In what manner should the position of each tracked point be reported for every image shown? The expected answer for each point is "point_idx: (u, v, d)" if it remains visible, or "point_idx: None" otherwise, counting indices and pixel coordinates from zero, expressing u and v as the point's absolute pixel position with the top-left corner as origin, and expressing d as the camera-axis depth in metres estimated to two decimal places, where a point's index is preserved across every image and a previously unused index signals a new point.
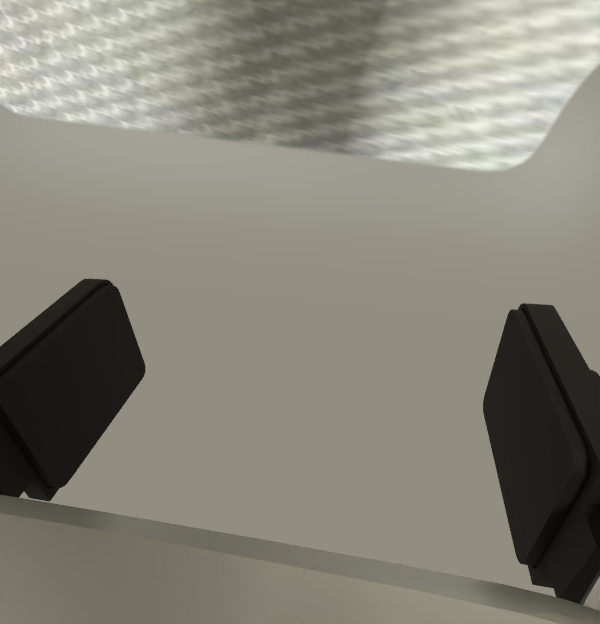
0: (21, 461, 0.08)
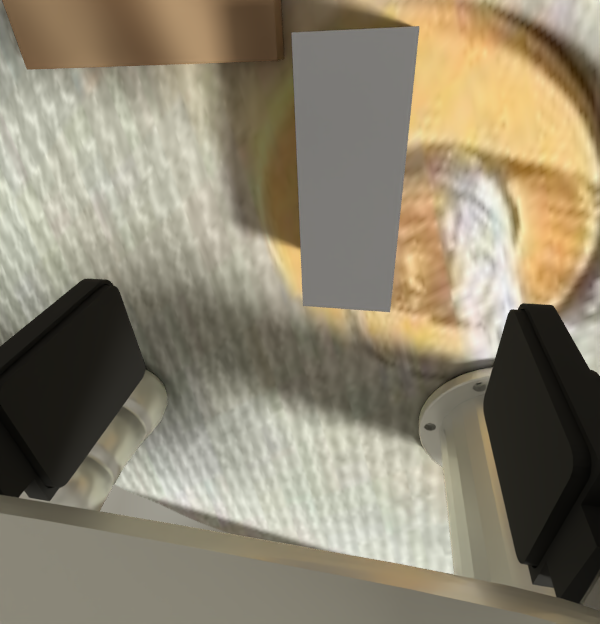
0: (22, 461, 0.08)
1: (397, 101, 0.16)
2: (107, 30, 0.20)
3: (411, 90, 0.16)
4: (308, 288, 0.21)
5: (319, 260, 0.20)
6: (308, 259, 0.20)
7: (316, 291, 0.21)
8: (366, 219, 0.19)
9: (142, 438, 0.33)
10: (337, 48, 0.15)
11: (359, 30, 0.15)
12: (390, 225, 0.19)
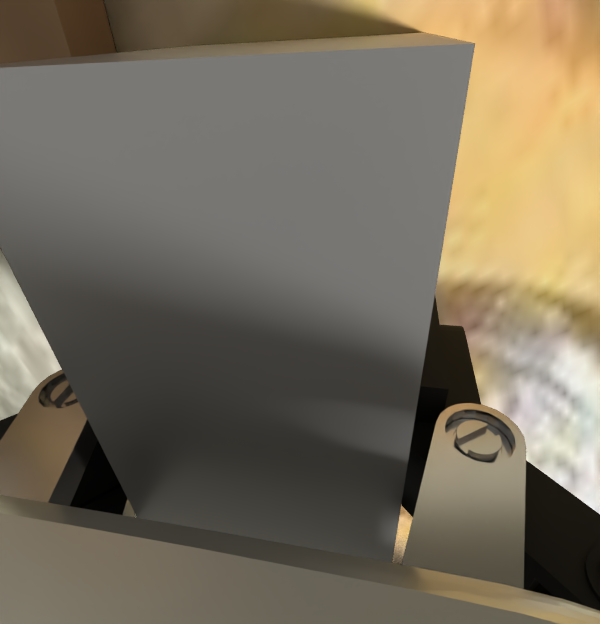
0: None
1: (373, 325, 0.04)
2: None
3: (430, 298, 0.04)
4: None
5: None
6: None
7: None
8: None
9: None
10: (110, 141, 0.04)
11: (183, 64, 0.03)
12: None
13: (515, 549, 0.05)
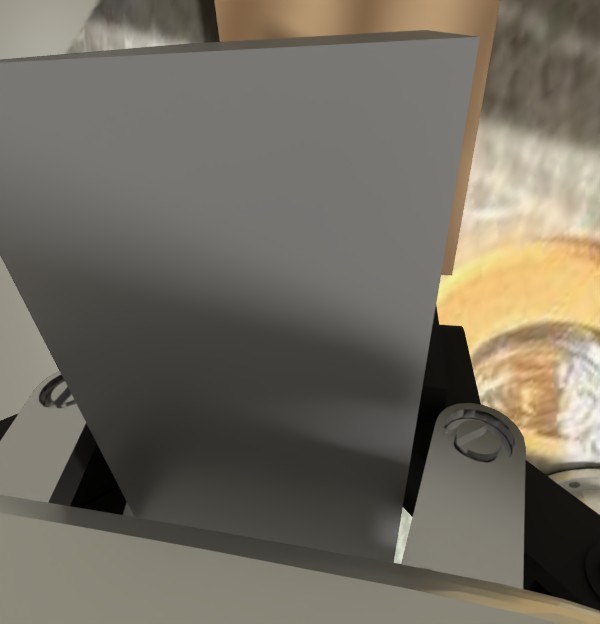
0: None
1: (374, 326, 0.04)
2: None
3: (432, 297, 0.04)
4: None
5: None
6: None
7: None
8: None
9: None
10: (107, 137, 0.03)
11: (180, 58, 0.03)
12: None
13: (514, 549, 0.05)
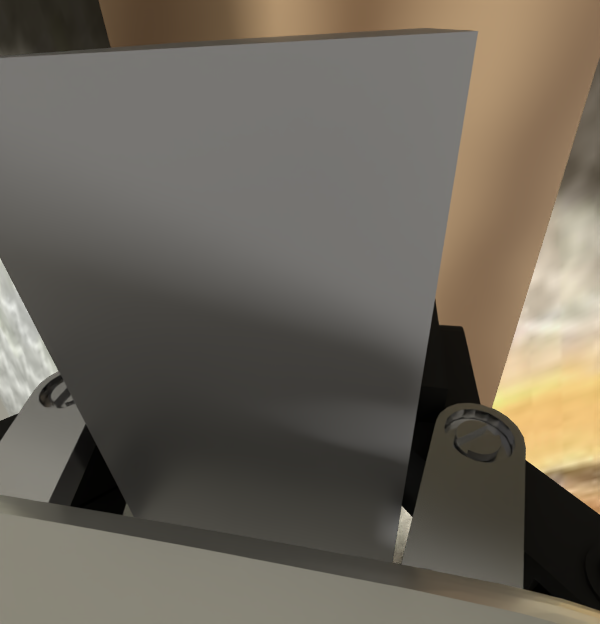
0: None
1: (371, 324, 0.04)
2: None
3: (431, 294, 0.04)
4: None
5: None
6: None
7: None
8: None
9: None
10: (104, 133, 0.03)
11: (177, 53, 0.03)
12: None
13: (514, 549, 0.05)
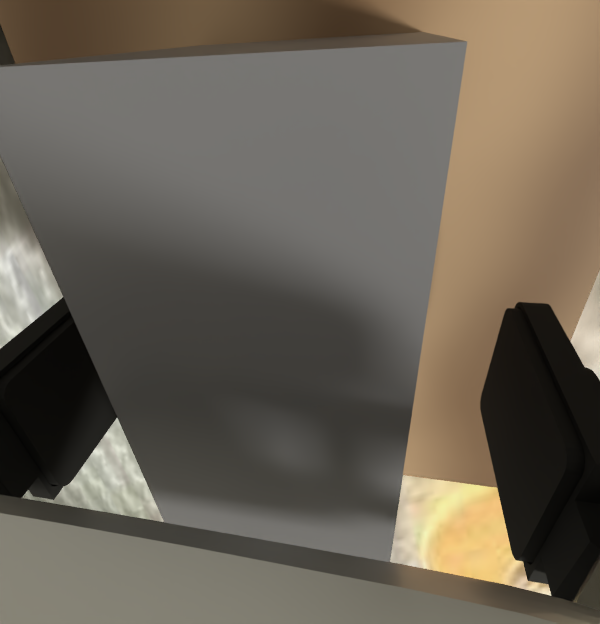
0: (26, 459, 0.08)
1: (376, 300, 0.05)
2: None
3: (429, 272, 0.04)
4: None
5: None
6: None
7: None
8: (311, 520, 0.07)
9: None
10: (141, 130, 0.04)
11: (208, 60, 0.04)
12: (371, 538, 0.07)
13: None
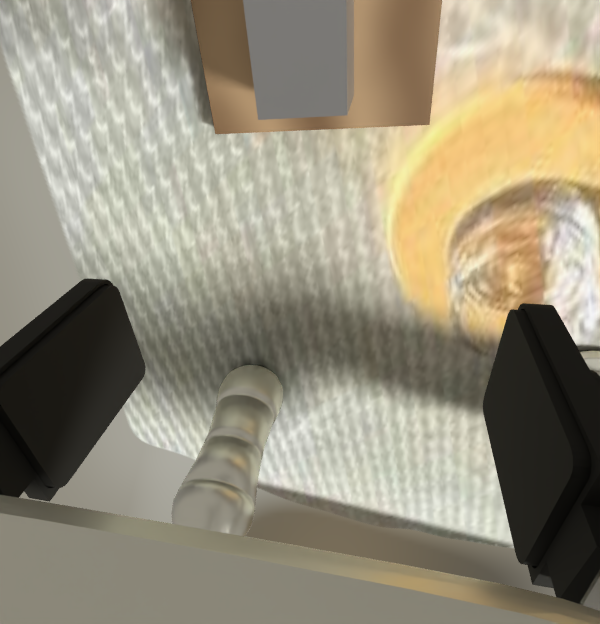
0: (22, 461, 0.08)
1: None
2: None
3: None
4: (261, 95, 0.20)
5: (269, 55, 0.19)
6: (257, 55, 0.19)
7: (269, 98, 0.20)
8: None
9: None
10: None
11: None
12: None
13: None
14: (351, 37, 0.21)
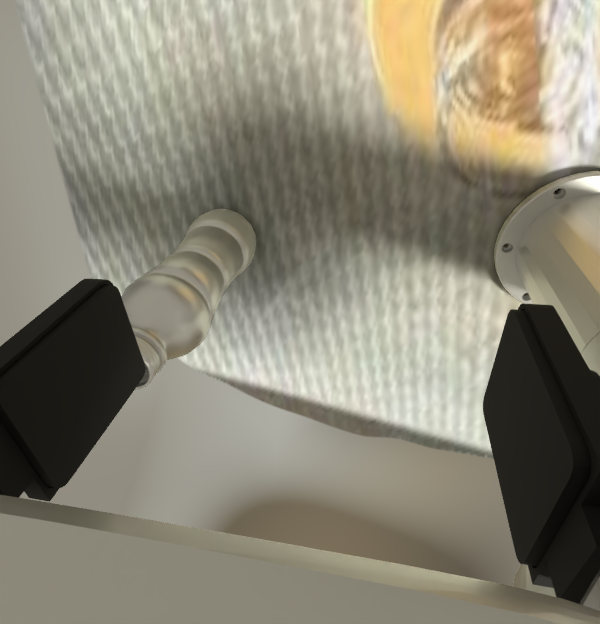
0: (21, 461, 0.08)
1: None
2: None
3: None
4: None
5: None
6: None
7: None
8: None
9: (241, 266, 0.36)
10: None
11: None
12: None
13: None
14: None
